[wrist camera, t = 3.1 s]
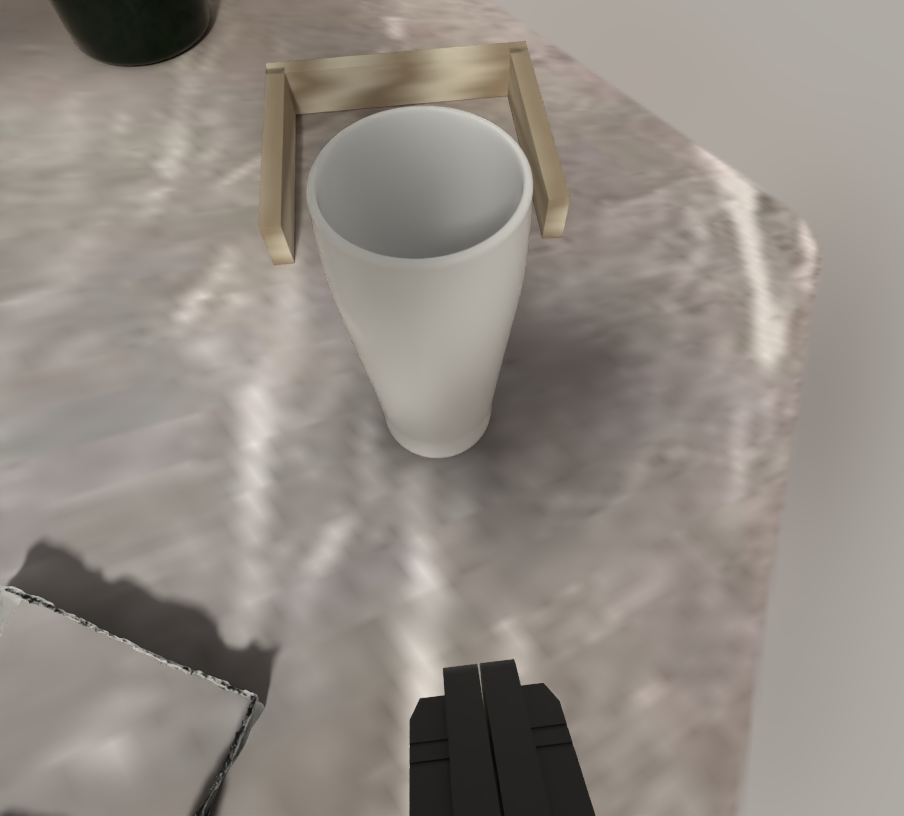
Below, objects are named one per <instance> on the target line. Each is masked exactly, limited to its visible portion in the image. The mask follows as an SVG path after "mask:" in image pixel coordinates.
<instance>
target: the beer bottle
mask: <svg viewBox="0 0 904 816" xmlns="http://www.w3.org/2000/svg"><path fill="white" fill-rule="evenodd" d="M50 2H51V4H52V5H53V7H54V9H55V11H56V12H57V14H58V16H59V18H60V20H61V21H62V23H63V25H64V27H65V28H66V30H67V32H68V33H69V35H70V36H71V38H72V40H73V41H74V43H75V44H76V46H77V47H78V48H79V49H80V50H81V51H82V52H84V53H85V54H86V55H88V56H90V57H91V58H93V59H95V60H97V61H100V62H103V63H107V64H113V65H120V66H137V65H146V64H151V63H156V62H160V61H163V60H166V59H169V58H171V57H173V56H175V55H178V54H180V53H182V52H183V51H185V50H186V49H188V48H189V47H191V46H192V45H193V44H194V43H195V42H196V41H198V40H199V39H200V38H201V36H202V35H203V34H204V32H205V31H206V29H207V27H208V25H209V21H210V12H211V10H210V6H209V2H208V0H50Z"/></svg>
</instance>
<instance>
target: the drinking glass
mask: <svg viewBox="0 0 904 816" xmlns="http://www.w3.org/2000/svg"><path fill="white" fill-rule="evenodd" d="M532 196H533V176H532V171H531V167H530V165H529V162H528V159H527V157H526V155H525V154H524V152H523V150H522V149H521V147H520V146H519V145H518V144H517V142H516V141H515V140H514V139H513V138H512V137H511V136H510V135H509V134H508V133H507V132H505V131H504V130H503V129H501V128H500V127H499V126H497V125H495V124H494V123H492V122H490V121H488V120H486V119H485V118H482V117H480V116H478V115H475V114H472V113H469V112H466V111H462V110H458V109H454V108H448V107H440V106H408V107H400V108H395V109H390V110H386V111H382V112H378V113H376V114H373V115H370V116H367V117H365V118H363V119H360V120H358V121H357V122H355V123H353V124H351V125H349V126H348V127H346V128H345V129H343V130H342V131H340V132H339V133H338V134H336V135H335V136H334V137H333V138H332V139H331V140H330V141H329V142H328V143H327V144H326V145H325V146H324V147H323V148H322V150H321V151H320V152H319V154H318V155H317V157H316V159H315V160H314V162H313V164H312V166H311V169H310V172H309V175H308V179H307V185H306V198H307V205H308V209H309V212H310V216H311V221H312V226H313V230H314V234H315V238H316V242H317V246H318V250H319V254H320V258H321V262H322V265H323V269H324V272H325V275H326V278H327V281H328V284H329V287H330V290H331V293H332V296H333V298H334V301H335V303H336V306H337V308H338V311H339V313H340V316H341V318H342V320H343V323H344V325H345V327H346V329H347V332H348V334H349V336H350V338H351V340H352V343H353V345H354V347H355V349H356V351H357V353H358V356H359V358H360V360H361V362H362V364H363V367H364V369H365V371H366V373H367V375H368V378H369V380H370V382H371V384H372V387H373V389H374V391H375V393H376V396H377V398H378V400H379V403H380V405H381V407H382V410H383V413H384V417H385V421H386V424H387V427H388V429H389V431H390V433H391V434H392V436H393V437H394V438H395V440H396V441H397V442H398V443H399V444H400V445H401V446H403V447H404V448H405V449H407V450H408V451H410V452H412V453H414V454H417V455H419V456H423V457H428V458H446V457H451V456H455V455H458V454H460V453H462V452H464V451H466V450H468V449H469V448H471V447H472V446H473V445H474V444H475V443H477V442H478V440H479V439H480V438H481V437H482V435H483V434H484V432H485V431H486V429H487V427H488V424H489V421H490V417H491V411H492V401H493V397H494V393H495V389H496V385H497V381H498V377H499V373H500V369H501V366H502V362H503V358H504V355H505V351H506V347H507V344H508V340H509V336H510V333H511V329H512V325H513V322H514V318H515V314H516V311H517V307H518V303H519V299H520V294H521V290H522V285H523V279H524V274H525V268H526V262H527V255H528V247H529V237H530V226H531V210H532Z"/></svg>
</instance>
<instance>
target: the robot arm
mask: <svg viewBox="0 0 904 816" xmlns="http://www.w3.org/2000/svg"><path fill="white" fill-rule="evenodd" d="M480 672H481V683H482V692H481V686H480V679H479V673H478V666H477V664H472V665H464V666H456V667H448V668H443V676H444V690H445V695H444V696H436V697H428V698H420V700H419V702H418V704H417V706H416V708H415V710H414V712H413V714H412V716H411V718H410V816H595V813H594V810H593V807H592V803H591V800H590V797H589V794H588V791H587V787H586V784H585V781H584V778H583V775H582V771H581V768H580V765H579V762H578V759H577V755H576V752H575V749H574V747H573V744H572V739H571V736H570V733H569V730H568V728H567V723H566V720H565V717H564V714H563V711H562V707H561V704H560V701H559V700H558V699H557V698H556V696H555V695H554V694H553V693H552V692H551V691H550V690H549V689H548V688H547V686H546V685H545V684H544V683H539V684H531V685H523V686H521V685H520V680H519V676H518V672H517V668H516V664H515V661H514V659H512V660H503V661H495V662H487V663H480ZM482 694H483V699H482ZM483 704H484V706H483Z"/></svg>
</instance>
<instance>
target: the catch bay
mask: <svg viewBox="0 0 904 816" xmlns="http://www.w3.org/2000/svg"><path fill="white" fill-rule="evenodd" d="M498 96H508V99H509V103H510V108H511V112H512V116H513V120H514V124H515V128H516V132H517V136H518V140H519V144H520V147H521V149H522V150H523V152H524V154H525V155H526V157H527V159H528V162H529V165H530V167H531V171H532V176H533V196H532V197H533V202H534V206H535V210H536V214H537V218H538V222H539V226H540V230H541V234H542V238H552V237H562V236H563V231H564V226H565V221H566V216H567V211H568V206H569V201H570V195H569V192H568V188H567V185H566V181H565V178H564V174H563V171H562V167H561V164H560V160H559V157H558V153H557V150H556V146H555V143H554V139H553V136H552V132H551V129H550V125H549V122H548V118H547V115H546V111H545V108H544V104H543V101H542V97H541V94H540V90H539V87H538V83H537V80H536V76H535V73H534V69H533V66H532V62H531V59H530V55H529V52H528V48H527V45H526V41H520V42H509V43H497V44H485V45H474V46H462V47H450V48H439V49H427V50H415V51H404V52H392V53H380V54H369V55H357V56H345V57H334V58H322V59H310V60H299V61H287V62H275V63H266V82H265V103H264V123H263V143H262V164H261V184H260V204H259V225H258V228H259V230H260V233H261V235H262V238H263V240H264V243H265V245H266V247H267V250H268V252H269V255H270V257H271V260H272V262H273V264H274V265H278V264H288V263H294V236H295V147H296V114H307V113H318V112H330V111H341V110H352V109H363V108H375V107H386V106H397V105H408V104H420V103H431V102H442V101H453V100H465V99H476V98H487V97H498Z"/></svg>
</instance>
